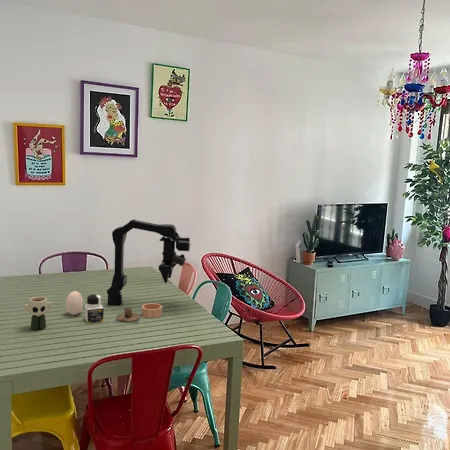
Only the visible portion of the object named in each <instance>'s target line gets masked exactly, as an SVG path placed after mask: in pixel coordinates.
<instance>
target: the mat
mask: <svg viewBox="0 0 450 450" xmlns="http://www.w3.org/2000/svg"><path fill="white" fill-rule="evenodd" d="M120 314H121V313H118V315H120ZM138 315H139V320H137V321H135V322H120V321H118V320H117V317H115V320H113V323H116V324H119V323H121V324H137V325H138V324H139V322H140V320H141V318H142V317H143V316H142V315H141V314H138Z"/></svg>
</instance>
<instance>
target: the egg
mask: <svg viewBox="0 0 450 450" xmlns="http://www.w3.org/2000/svg"><path fill="white" fill-rule="evenodd" d="M83 308H84V299H83V297H82V294H81V293H80V292H79V291H76V290H73V291H71V292H70V293H69V294H68V295H67V297H66V299H65V309H66V311H67V312H68V313H69V314H70V315H73V316H76V315H79V314H80V313H81V312H82V310H83Z"/></svg>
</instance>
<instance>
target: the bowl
mask: <svg viewBox="0 0 450 450" xmlns="http://www.w3.org/2000/svg"><path fill="white" fill-rule="evenodd" d="M140 315H142V316H141V317H143V318H147V319H156V318H159V317H161V316H162V315H163V305H162V304H159V303H157V302H156V303H154V302H153V303H150V302H149V303H145V304H141V313H140Z"/></svg>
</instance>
